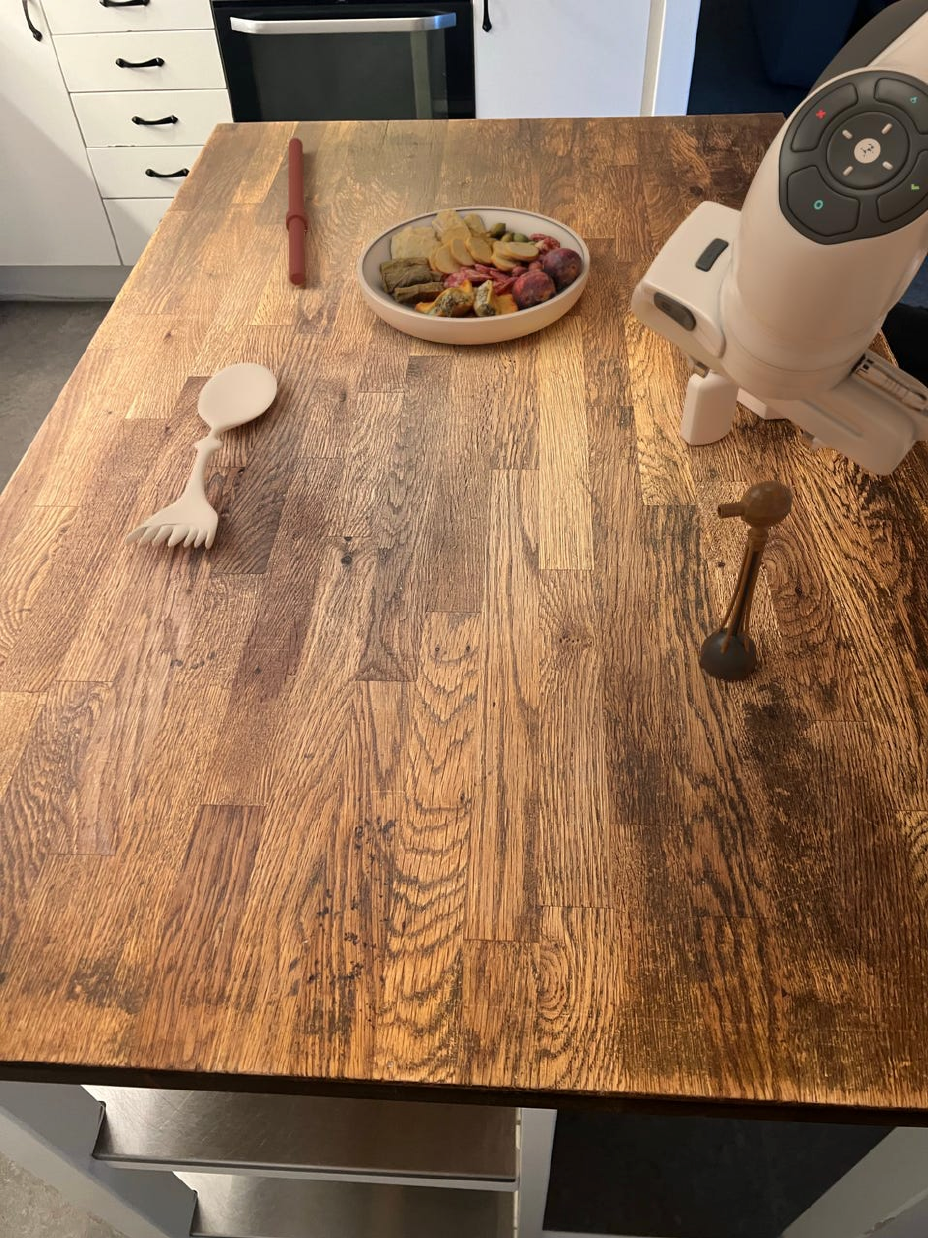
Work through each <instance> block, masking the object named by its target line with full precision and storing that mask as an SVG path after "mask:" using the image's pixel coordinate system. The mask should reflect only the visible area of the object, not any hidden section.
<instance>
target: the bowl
mask: <svg viewBox="0 0 928 1238" xmlns="http://www.w3.org/2000/svg"><path fill="white" fill-rule="evenodd" d="M590 256H591V255H590V252H589V248H588V246H587V244H586V242H585V241H584V239H583V238H582V237H581V236H580V234H578V233H577V232H576V231H575V230H573V229H572V228H571V227H569V226H568V225H566V224H565V223H563V222H562V221H559V220H557V219H555V218H552V217H550V216H547V215H545V214H542V213H538V212H535V211H532V210H531V211H530V210H526V209H522V208H516V207H515V208H514V207H507V206H496V205H495V206H493V205H471V206H470V205H469V206H457V207H451V208H443V209H439V210H434V211H429V212H426V213H422V214H417V215H415V216H412V217H410V218H407V219H406V218H405V219H404V220H402V221H399V222H397V223H395V224H393V225H391V226H389V227H388V228H386V229H383V231H381V232H379V233H378V234H377V235H376V236H375V237H373V238H372V239H371V240H370V241H369V242H368V243H367V244H366V245H365V247H364V248H363V249H362V251H361V253H360V254H359V257H358V260H357V264H356V275H357V281H358V286H359V288H360V292H361V294H362V296H363V298H364V300H365V302H366V304H367V305H368V306H369V308H370V309H371V310H372V311H373V312H374V313H375V314H376V315H377V317H379V318H380V319H381V320H382V321H383V322H385V323H386V324H388V325H389V326H390V327H392V328H394V329H396V330H397V331H400V332H402V333H404V334H407V335H409V336H412V337H415V338H418V339H421V340H425V341H429V342H433V343H440V344H446V345H447V344H448V345H465V346H466V345H468V346H469V345H486V344H495V343H500V342H501V343H502V342H506V341H510V340H514V339H519V338H522V337H525V336H527V335H530V334H533V333H535V332H538V331H539V330H542V329H544V328H546V327H548V326H550V325H551V324H553V323H554V322H556V321H557V320H559V319H560V318H562V317H563V316H564V315H565V314H566V313H567V312H569V311H570V309H571V308H572V307H573V306H574V305H575V304H576V303H577V302H578V300H579V298H580V297H581V295H582V294H583V291H584V290H585V288H586V285H587V283H588V279H589V272H590V267H591V265H590V264H591V257H590Z"/></svg>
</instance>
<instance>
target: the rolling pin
mask: <svg viewBox="0 0 928 1238" xmlns="http://www.w3.org/2000/svg"><path fill="white" fill-rule="evenodd" d="M303 147H304V146H303V142H302V140H301V139H299V138H298V137H293V138H291V139H290V140H289V143H288V211H287V212H286V214H285V227H286V230H287V231H288V279H289V282H290V284H291V285H293V284H294V285H293V286H296V285H301V284H303V285H304V284H305V283H306V281H307V263H306V262H307V260H306V257H307V256H306V232H305V230H308V228H309V219H308V214H307V212H306V211H305V186H304V184H305V181H304V148H303ZM301 286H302V285H301Z"/></svg>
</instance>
